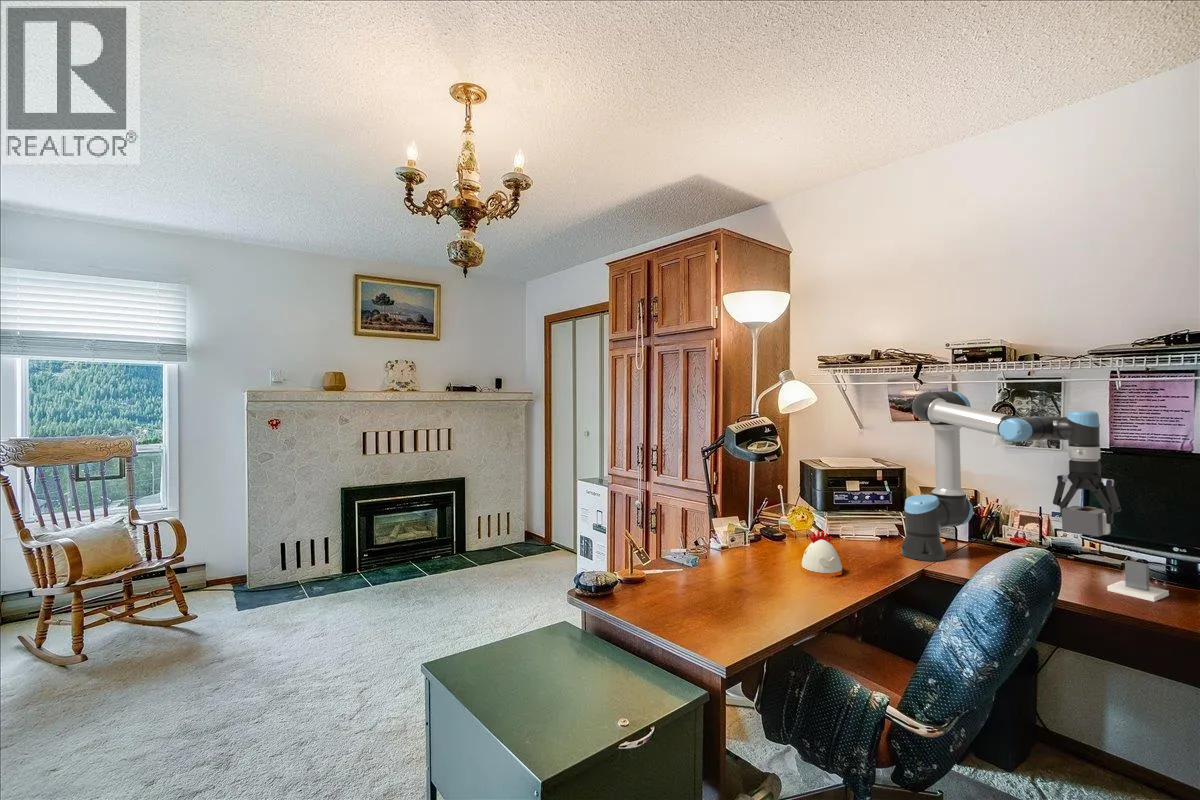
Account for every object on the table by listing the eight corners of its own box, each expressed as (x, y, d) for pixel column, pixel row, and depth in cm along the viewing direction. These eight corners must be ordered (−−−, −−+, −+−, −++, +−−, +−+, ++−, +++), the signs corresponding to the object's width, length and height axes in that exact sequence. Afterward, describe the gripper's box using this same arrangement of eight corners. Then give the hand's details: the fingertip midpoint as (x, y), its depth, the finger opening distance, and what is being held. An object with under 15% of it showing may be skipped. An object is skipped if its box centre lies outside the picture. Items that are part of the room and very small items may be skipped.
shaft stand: (1107, 590, 173) (1106, 560, 173) (1122, 585, 178) (1121, 555, 178) (1154, 601, 164) (1153, 570, 163) (1168, 595, 168) (1167, 564, 168)
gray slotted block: (1062, 530, 174) (1061, 508, 174) (1075, 526, 179) (1074, 504, 179) (1098, 536, 166) (1097, 512, 166) (1111, 532, 171) (1110, 509, 171)
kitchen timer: (796, 566, 207) (795, 526, 207) (832, 565, 207) (831, 525, 207) (810, 578, 194) (808, 536, 194) (848, 577, 193) (847, 535, 193)
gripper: (1037, 457, 180) (1039, 525, 180) (1124, 463, 161) (1127, 539, 161) (1048, 456, 184) (1050, 522, 184) (1135, 461, 165) (1137, 536, 165)
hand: (1086, 530), depth 172 cm, fingers closed on gray slotted block, 9 cm apart
